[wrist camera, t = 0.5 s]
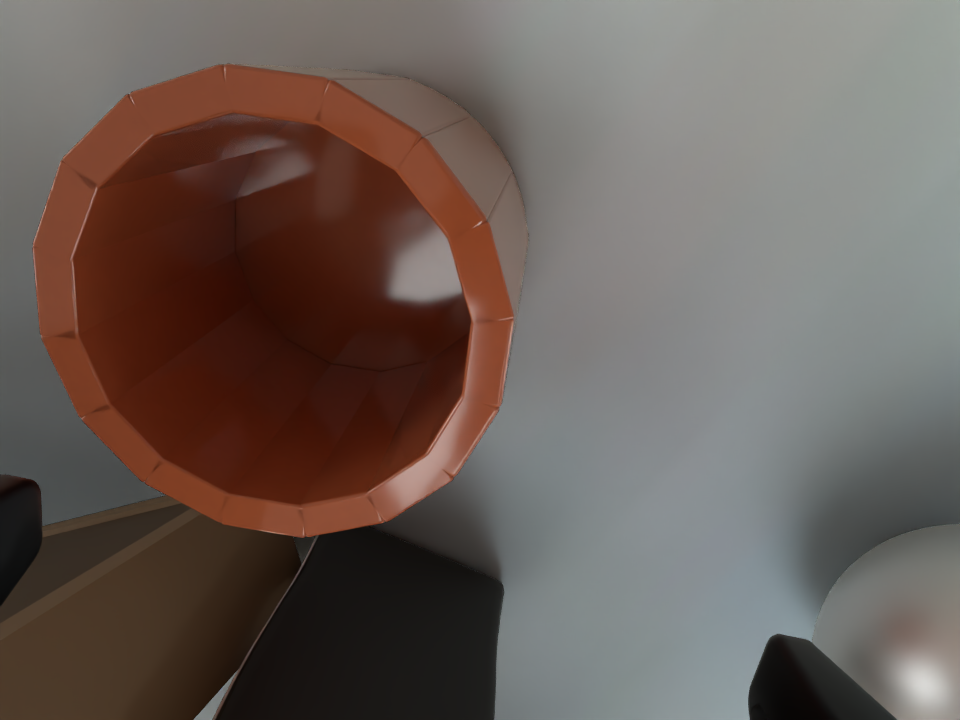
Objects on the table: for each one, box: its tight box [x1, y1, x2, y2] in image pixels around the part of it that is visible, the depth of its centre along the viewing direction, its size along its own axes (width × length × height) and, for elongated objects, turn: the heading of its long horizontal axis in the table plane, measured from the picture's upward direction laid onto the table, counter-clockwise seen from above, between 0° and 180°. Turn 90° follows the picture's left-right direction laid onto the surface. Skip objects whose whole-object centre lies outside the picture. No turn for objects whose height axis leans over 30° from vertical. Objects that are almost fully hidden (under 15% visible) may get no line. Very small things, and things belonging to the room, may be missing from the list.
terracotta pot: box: [32, 63, 529, 538], centre depth 18 cm, size 9×9×8 cm
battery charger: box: [212, 526, 504, 720], centre depth 21 cm, size 7×4×11 cm, turn 68°
